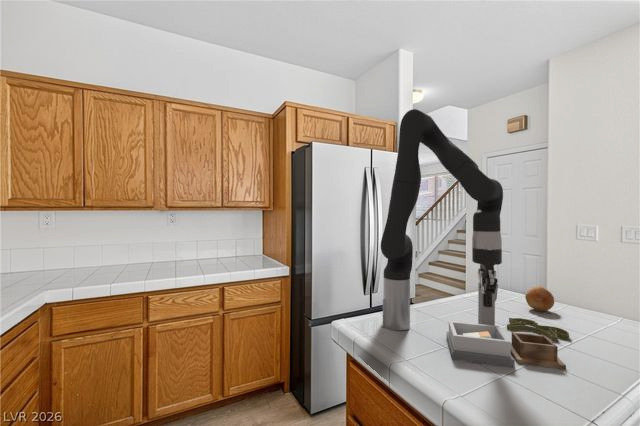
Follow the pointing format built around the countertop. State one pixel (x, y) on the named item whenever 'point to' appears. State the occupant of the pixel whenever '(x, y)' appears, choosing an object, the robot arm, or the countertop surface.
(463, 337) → the box
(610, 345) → the countertop surface
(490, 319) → the vintage mobile phone
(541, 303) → the onion
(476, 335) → the plate
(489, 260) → the robot arm
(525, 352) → the stand
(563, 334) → the cookie cutter
